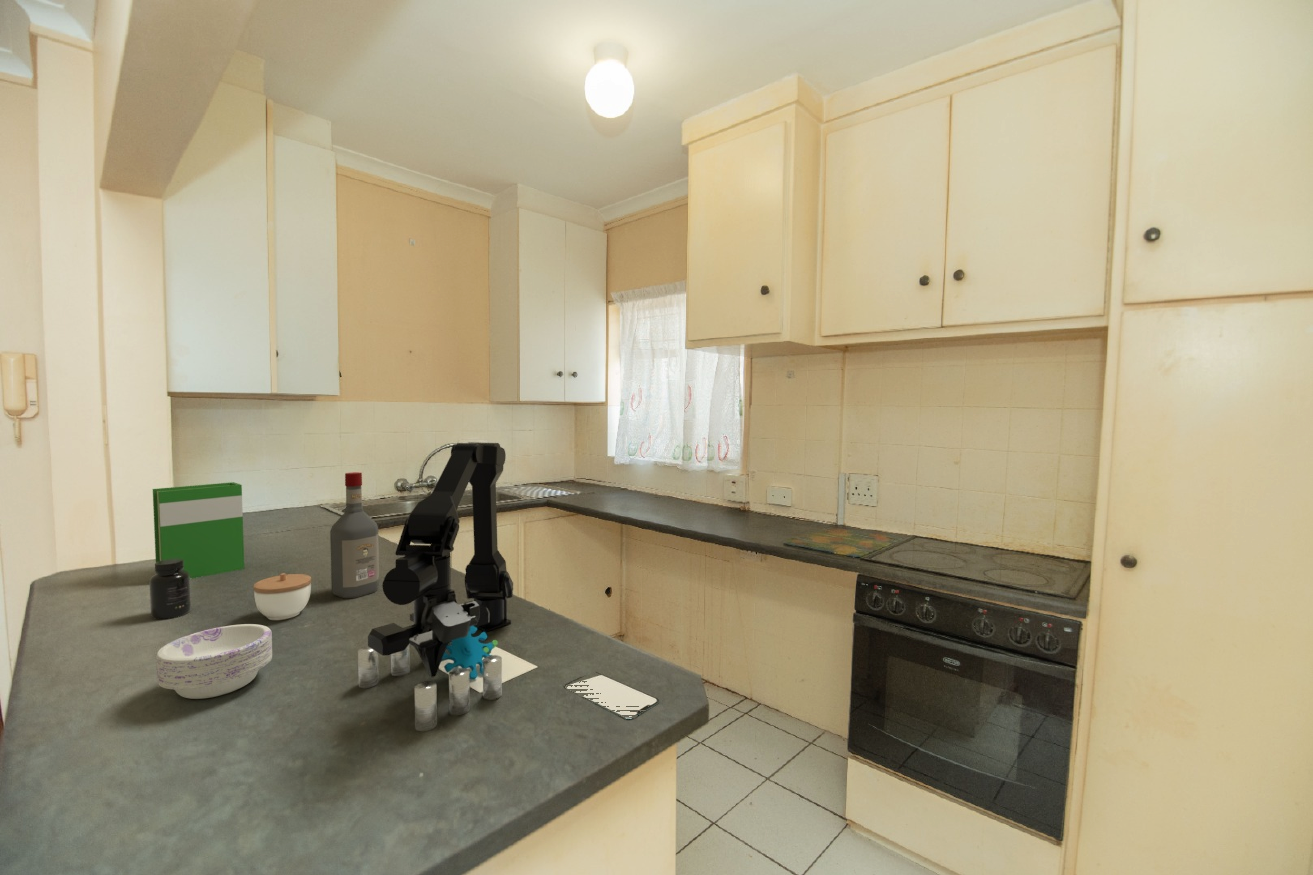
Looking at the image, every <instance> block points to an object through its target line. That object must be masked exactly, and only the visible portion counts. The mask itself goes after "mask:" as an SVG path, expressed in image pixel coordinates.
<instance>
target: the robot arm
mask: <svg viewBox="0 0 1313 875" xmlns="http://www.w3.org/2000/svg"><path fill="white" fill-rule="evenodd" d="M506 458H507V457H506V450H505V448H503V447H502V446H501V444H500V443H499V442H471V441H470V442H469V441H468V442H458V443H455V444H453V445H452V446H451V449H450V456H449V459H448V460H447V463H446V465H445V467H444V468H443V470H442V472H441V474H440V476H439V478H438V480H437V482H436V484H435V486H434V488H433V489H432V491H431V493H430V494H429V495H428V496H426V497H425V498H423V499H422V500H420V501H418V503H416V505H415V507H413V509H412V511H411V512H410V513H409V516H407V518H406V520H405V523H404V526H403V528H402V532H401V535H400V538H399V541H398V544H397V548H396V550H395V555H396V556H400V557H398V558H396V559H395V567H393V568H391V569H390V570H389V571H388V572H386V574H385V576H384V578H383V581H382V585H381V586H382V591H383V594H384V596H385V597H386V598H387V600H388V601H389V602H391V603H393V604H395V605H398V606H406V605H409V604H411V603H413V613H412V612H411V613H410V614H409V621H410V622H413V624H411V625H407V626H404V627H402V626H400V625H398V624H397V623H395V622H393V623H392V622H391V623H387V624H385V625H380V626H377V627H374V628H372V629H371V631H370V632H369V634H368V635H367V646H368V647H370V648H372V649H373V650H375V651H376V652H378V655H381V656H391V654H394V653H397V652H400V651H403V650H405V649H406V648H407V646H408V645H409V646H410V645H411V646H413V647H414V649H415V650H416V652H417V654H418V655H419V658H420V660H421V662H422V664H423V666H424V668H425V670H426V673H427V675H428V676H429V677H430V678H434V677H436V676H437V673H438V671H439V669H438V668H439V666H440V663H441V662H442V661H443V660H442V657H443V655H444V652H446V651H447V649H446V648H447V646H448V645H450V644H451V641H452V640H454V639H457V638H460V637H462V638H463V637H466V636H467V635H468V631H469V628H470V627H471V626H474V627H476V628H477V629H479V630H481V631H483V632H489V631H492V630H496V629H498V628H501V627H504V626H506V625H509V624H512V620H511V619H508V616H507V615H508V611H507V610H508V600H507V599H510V598H513V596H514V581H513V580H512V578H511V576H510V574H509V571H507V561H506V560H505V558H504V557H503V555H502V553H501V552H500V551H499V550H498V520H497V519H498V518H497V517H498V516H497V514H498V512H497V511H498V510H497V487H496V486H497V482H498V480H499V479H500V477H501V475H502V474H503V472H504V466H505V464H506ZM469 484H470V486H471V489H472V490H471V494H472V496H471V497H472V498H471V499H472V522H473V523H472V524H473V526H472V528H473V529H472V530H473V556H472V557H471V559H470V561H469V563H468V564H467V565H466V566H465V568H464V569H465V576H464V586H465V587H464V588H465V593H466V598H467V600H470V601H467V602H466V601H465V602H463V603H460V604H459V603H458V602H457V599H456V598H457V597H456V592H455V591H456V590H454V589H452V588H451V585H452V584H451V583H452V582H451V561H452V559H451V558H452V556H451V553H452V552H453V551H454V549H455V547H454V544H455V541H456V538H457V536H458V534H459V530H460V517H459V513H458V508H459V504H460V503H461V501H462V498H463V496H464V494H465V491H466V490H467V487H468V485H469ZM411 543H413V544H411ZM401 556H403V557H401ZM471 599H473V600H471Z"/></svg>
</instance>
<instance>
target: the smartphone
mask: <svg viewBox="0 0 1313 875" xmlns="http://www.w3.org/2000/svg"><path fill="white" fill-rule="evenodd" d="M595 673H596V674H598V676H597V675H596V676H593V677H591V678H587V679H584V680H580V679H582V678H584V677H585V675H583V676H580V677H577V678H576V679H573V680H572V681H574V682H575V681H577V682H575V683H573V682H571V681H568V682H567V683H565V684H564V685H566V686H567V685H573V686H572V687H571V686H568V687H567V688H566V687H565V686H564V685H563V688H564V689H565V690H567V689H588V690H587V691H581V692H580V691H576V692H573V691H571V690H569V692H570V691H571V692H570V693H572V692H573V693H572V694H574V693H594V695H592V694H591V695H590V694H588V696H586V695H584V696H582V697H581V698H582V699H584V698H599V699H593V700H590V699H587V701H588V700H589V701H588V702H591V703H592V702H593V703H592V704H594V702H599V703H598V704H597V705H596V703H595V704H594V705H596V706H597V707H600V706H602V707H603V706H606V707H603V708H602V707H601V708H602V709H604V708H605V709H604V710H606V711H607V710H611V712H613V713H614V714H613V713H612V714H613V715H615V714H616V715H615V716H617V715H620V716H622V715H639V716H641V715H642V714H641V713H643V712H644V711H641V712H640V711H638V712H630V711H620V712H616V711H617V710H647V711H649V710H650V708H651V707H652V708H654V707H655V706H657V705H658V704H659V703H660V700H659V699H658V697H655V696H653V695H650V694H649V693H646V692H643V691H641V690H638V689H637V688H635V687H632V686H630V685H628V684H625V683H623V682H622V681H618V680H616V679H614V678H611V677H609V676H607V675H605V674H602V673H600V672H599V671H596V672H595ZM579 680H580V681H581V682H580V681H579ZM582 681H587V682H585V683H584V682H582ZM579 682H580V683H579ZM571 683H572V684H571ZM574 685H589V686H588V687H587V686H582V687H580V686H577V687H575V686H574ZM590 689H593V690H590ZM596 693H599V694H596ZM600 693H601V694H600ZM601 702H603V703H601ZM605 702H606V703H605ZM607 706H609V707H607ZM616 706H620V707H616ZM626 706H639V707H626ZM648 706H649V707H648ZM653 706H654V707H653ZM652 708H651V709H652ZM648 709H649V710H648ZM612 710H615V711H612ZM611 712H610V713H611ZM644 713H645V712H644ZM644 713H643V714H644ZM640 714H641V715H640ZM631 717H632V716H629V717H624V716H623V718H625V719H632V718H631ZM623 718H622V719H623ZM625 719H624V720H625ZM632 720H633V719H632Z"/></svg>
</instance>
